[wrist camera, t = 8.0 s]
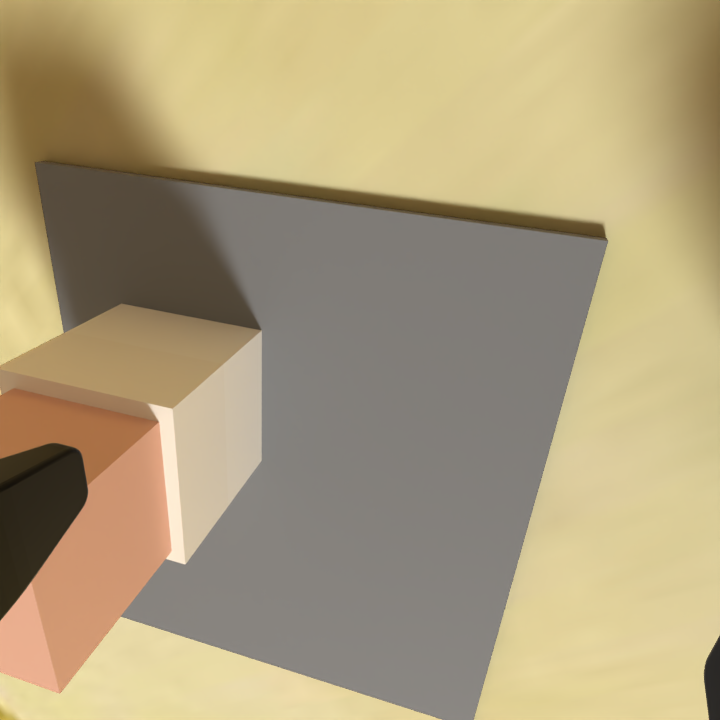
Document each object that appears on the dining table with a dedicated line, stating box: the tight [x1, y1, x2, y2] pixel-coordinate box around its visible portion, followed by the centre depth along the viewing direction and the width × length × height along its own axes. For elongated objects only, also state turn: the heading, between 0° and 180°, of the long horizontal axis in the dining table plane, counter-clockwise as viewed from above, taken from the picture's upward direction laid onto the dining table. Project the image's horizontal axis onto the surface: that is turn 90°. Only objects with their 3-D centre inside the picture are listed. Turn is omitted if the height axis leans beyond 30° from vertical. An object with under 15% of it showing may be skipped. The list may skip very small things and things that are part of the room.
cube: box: [0, 388, 172, 693], centre depth 16 cm, size 5×5×5 cm
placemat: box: [35, 161, 608, 720], centre depth 24 cm, size 20×24×1 cm
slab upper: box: [0, 332, 228, 564], centre depth 19 cm, size 6×6×3 cm
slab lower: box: [67, 304, 262, 506], centre depth 22 cm, size 6×6×3 cm
